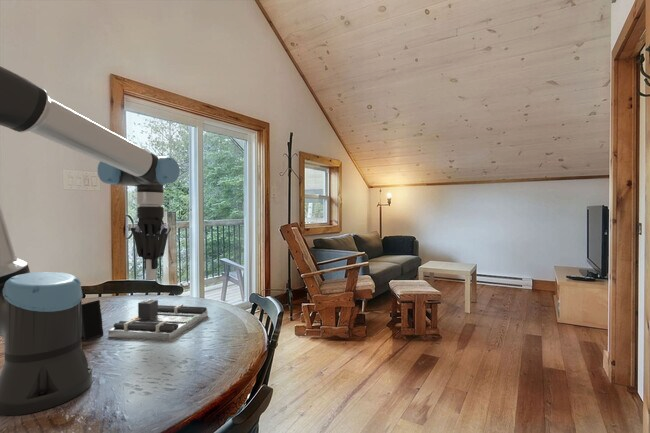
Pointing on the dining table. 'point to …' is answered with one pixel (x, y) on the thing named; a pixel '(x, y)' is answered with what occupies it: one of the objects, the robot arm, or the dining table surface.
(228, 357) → the dining table surface
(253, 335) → the dining table surface
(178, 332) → the panel
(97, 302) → the speaker
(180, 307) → the cords right
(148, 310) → the dark grey block
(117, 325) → the cords left
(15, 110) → the robot arm
